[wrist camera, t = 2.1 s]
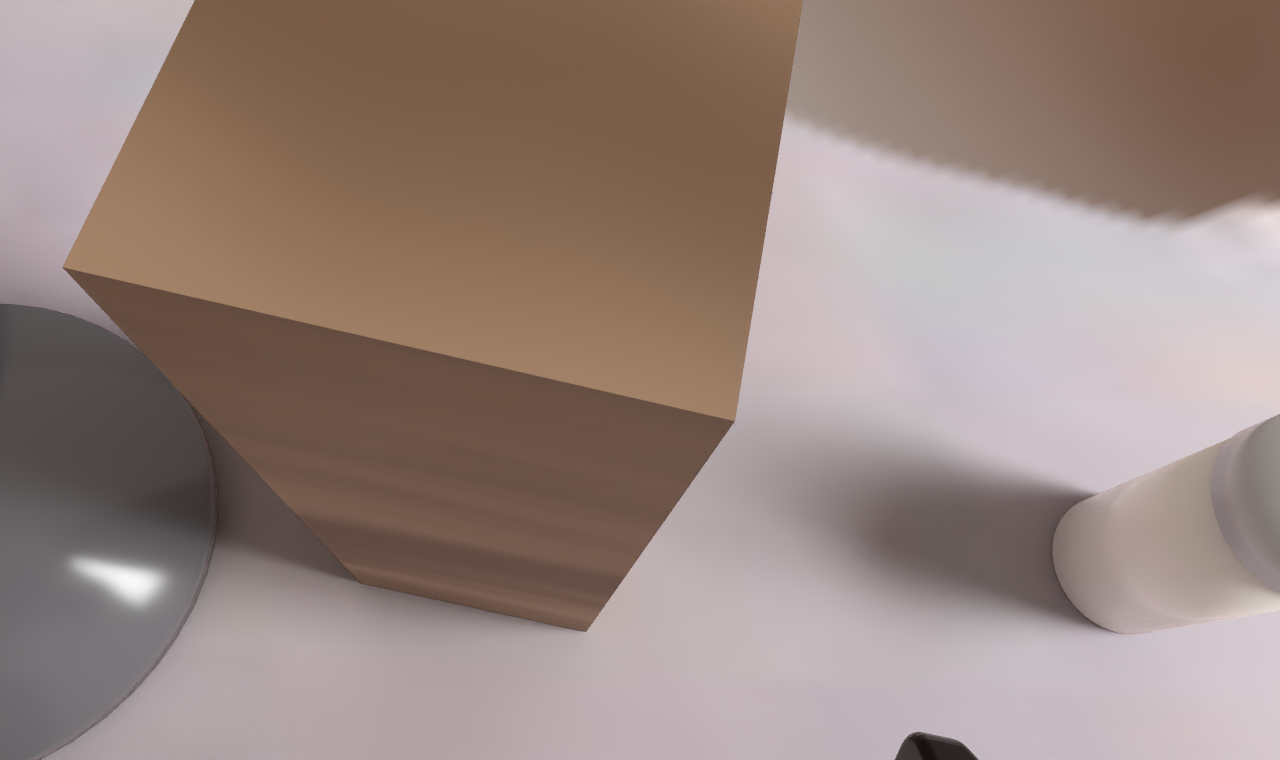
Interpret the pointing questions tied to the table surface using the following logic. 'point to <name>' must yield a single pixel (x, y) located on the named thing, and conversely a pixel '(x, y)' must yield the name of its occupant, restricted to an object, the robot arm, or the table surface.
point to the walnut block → (456, 269)
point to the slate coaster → (90, 524)
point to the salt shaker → (1179, 540)
